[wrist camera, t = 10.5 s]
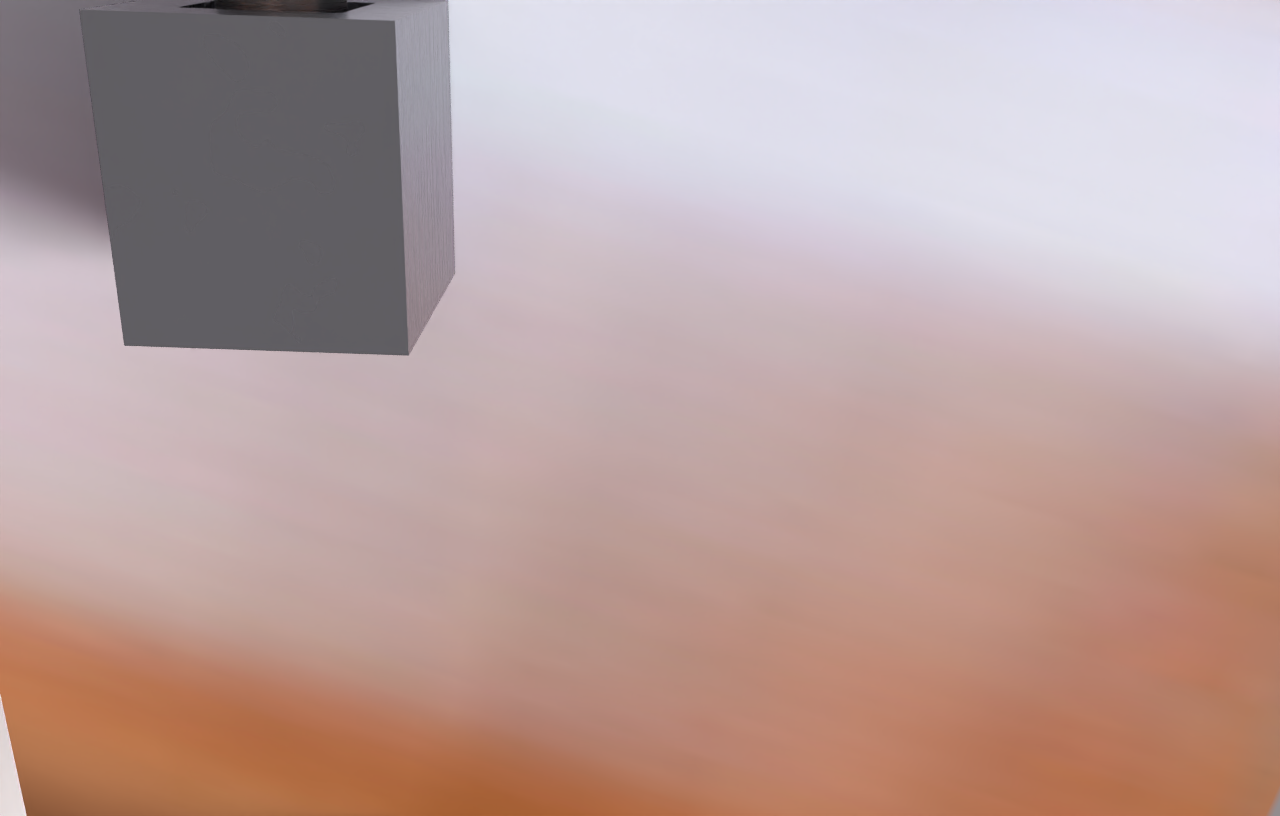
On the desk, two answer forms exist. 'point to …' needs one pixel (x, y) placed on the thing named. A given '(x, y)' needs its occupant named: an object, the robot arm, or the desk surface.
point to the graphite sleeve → (275, 172)
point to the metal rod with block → (285, 5)
